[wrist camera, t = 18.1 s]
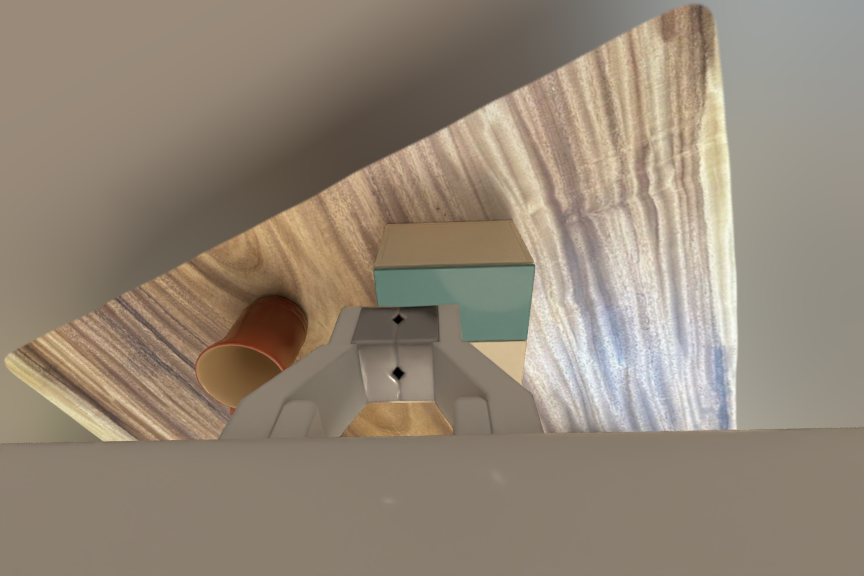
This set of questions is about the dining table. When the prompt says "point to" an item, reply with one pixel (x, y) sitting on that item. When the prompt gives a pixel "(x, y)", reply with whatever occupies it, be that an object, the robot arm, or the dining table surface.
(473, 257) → the carton
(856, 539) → the robot arm
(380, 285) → the flap
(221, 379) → the mug
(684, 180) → the dining table surface
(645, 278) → the dining table surface
